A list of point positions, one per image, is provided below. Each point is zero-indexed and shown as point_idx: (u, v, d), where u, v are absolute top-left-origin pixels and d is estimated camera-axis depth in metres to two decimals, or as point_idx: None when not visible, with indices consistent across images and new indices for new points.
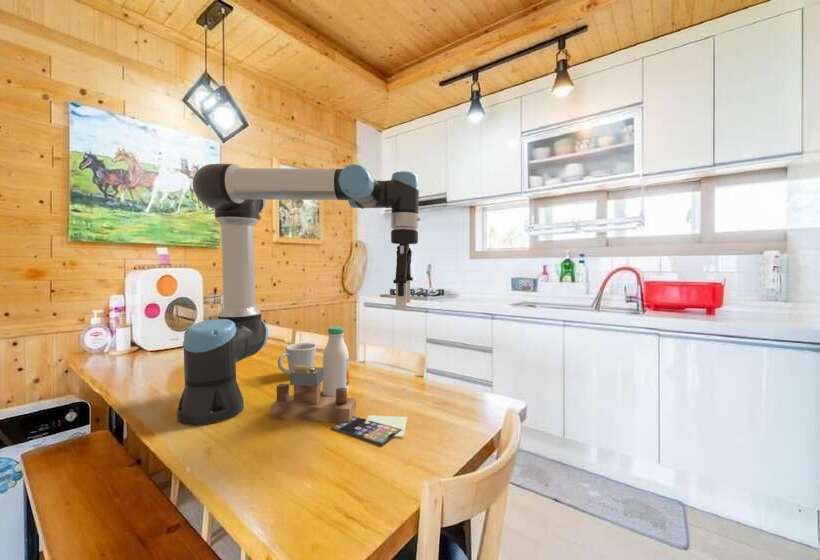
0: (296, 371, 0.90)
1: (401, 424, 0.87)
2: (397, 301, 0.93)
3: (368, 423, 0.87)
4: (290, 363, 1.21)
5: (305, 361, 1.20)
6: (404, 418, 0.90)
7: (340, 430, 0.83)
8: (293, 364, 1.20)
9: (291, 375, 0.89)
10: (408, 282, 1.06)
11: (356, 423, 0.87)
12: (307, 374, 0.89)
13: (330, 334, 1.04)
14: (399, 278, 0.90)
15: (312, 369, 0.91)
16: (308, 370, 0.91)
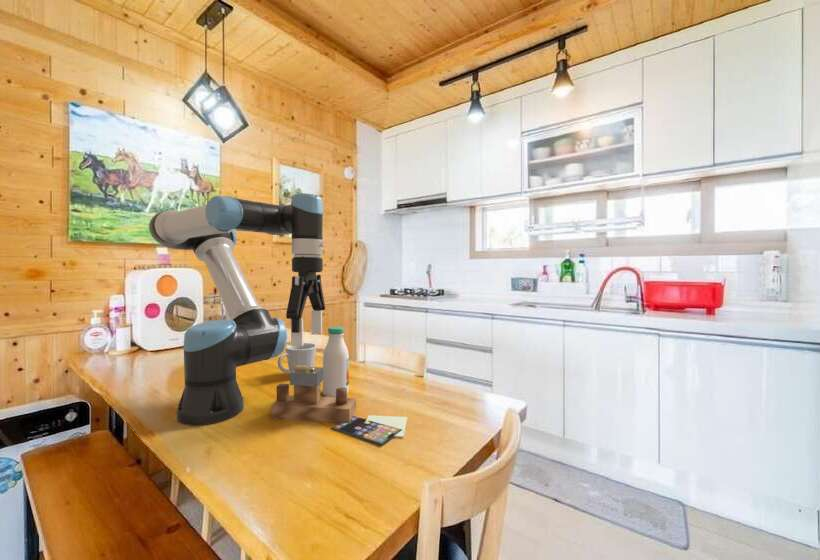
0: (296, 371, 0.90)
1: (401, 424, 0.87)
2: (292, 338, 0.84)
3: (368, 423, 0.87)
4: (290, 363, 1.21)
5: (305, 361, 1.20)
6: (404, 418, 0.90)
7: (340, 430, 0.83)
8: (293, 364, 1.20)
9: (291, 375, 0.89)
10: (319, 312, 0.97)
11: (356, 423, 0.87)
12: (307, 374, 0.89)
13: (330, 334, 1.04)
14: (290, 314, 0.81)
15: (312, 369, 0.91)
16: (308, 370, 0.91)
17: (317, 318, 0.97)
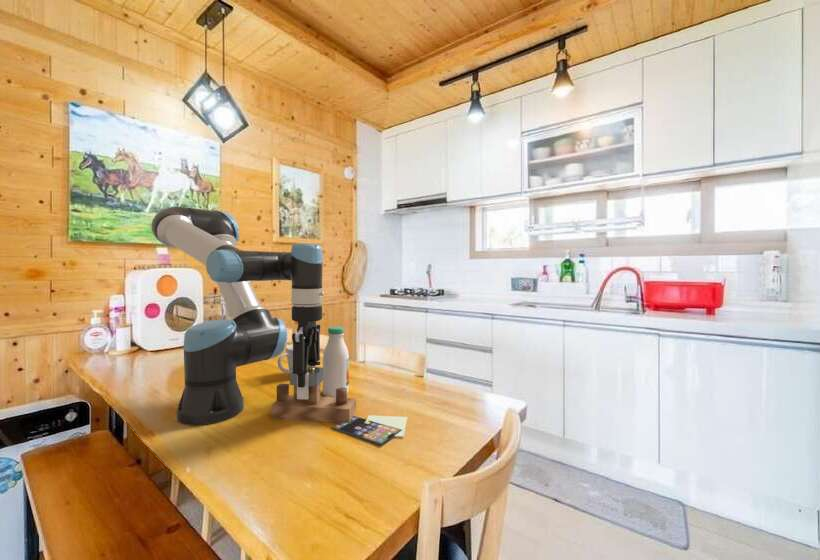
0: None
1: (401, 424, 0.87)
2: (298, 391, 0.88)
3: (368, 423, 0.87)
4: (290, 363, 1.21)
5: None
6: (404, 418, 0.90)
7: (340, 430, 0.83)
8: None
9: (291, 375, 0.89)
10: None
11: (356, 423, 0.87)
12: None
13: (330, 334, 1.04)
14: (296, 371, 0.85)
15: (312, 369, 0.91)
16: (308, 370, 0.91)
17: None
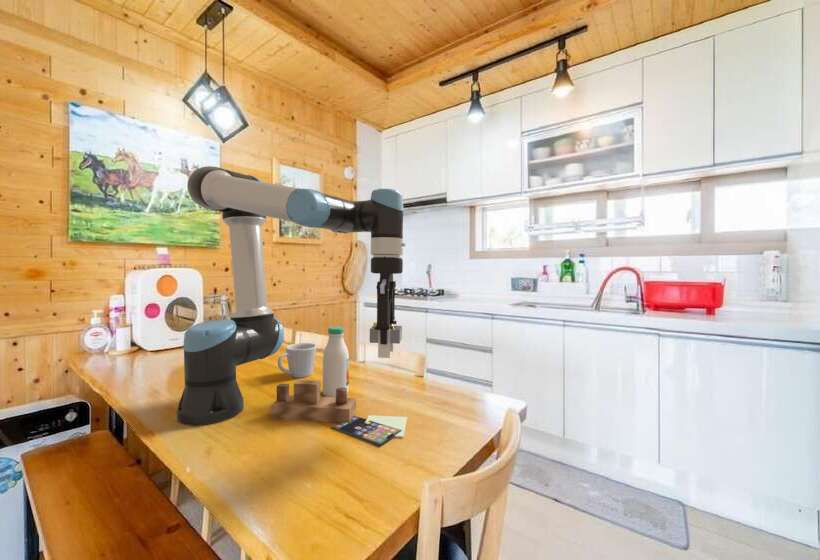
0: None
1: (401, 424, 0.87)
2: (380, 349, 0.82)
3: (369, 423, 0.87)
4: (290, 363, 1.21)
5: (305, 361, 1.20)
6: (404, 418, 0.90)
7: (340, 429, 0.83)
8: (293, 364, 1.20)
9: (371, 332, 0.82)
10: None
11: (357, 423, 0.87)
12: None
13: (330, 334, 1.04)
14: (381, 325, 0.78)
15: (392, 326, 0.84)
16: None
17: None
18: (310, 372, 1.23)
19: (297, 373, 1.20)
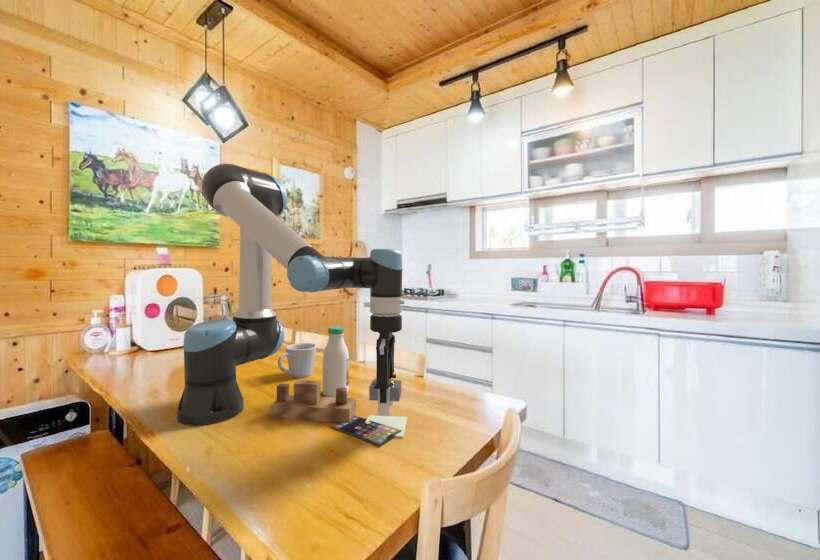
0: (375, 385, 0.84)
1: (401, 424, 0.87)
2: (379, 407, 0.82)
3: (369, 423, 0.87)
4: (290, 363, 1.21)
5: (305, 361, 1.20)
6: (404, 418, 0.90)
7: (340, 429, 0.83)
8: (293, 364, 1.20)
9: (371, 389, 0.83)
10: None
11: (357, 423, 0.87)
12: None
13: (330, 334, 1.04)
14: (380, 386, 0.79)
15: (392, 383, 0.85)
16: None
17: None
18: (310, 372, 1.23)
19: (297, 373, 1.20)
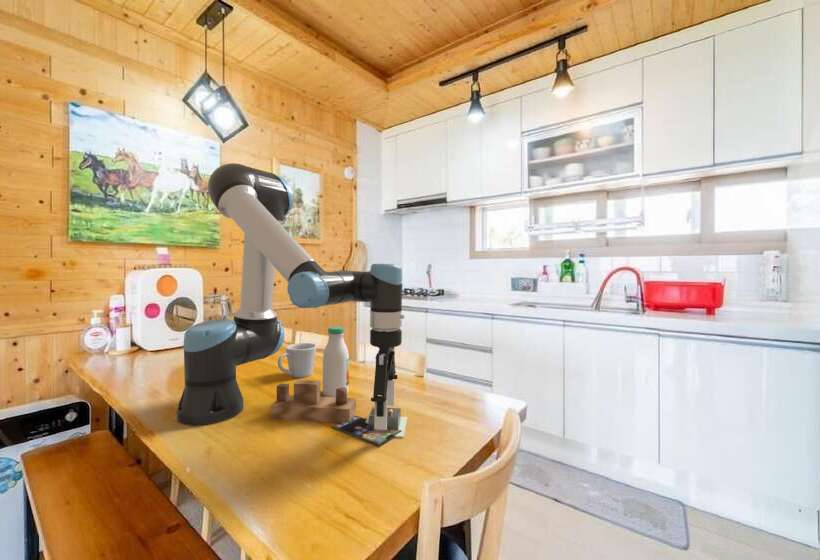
0: None
1: (401, 424, 0.87)
2: (376, 421, 0.79)
3: None
4: (290, 363, 1.21)
5: (305, 361, 1.20)
6: (404, 418, 0.90)
7: (340, 429, 0.84)
8: (293, 364, 1.20)
9: (370, 419, 0.83)
10: (392, 382, 0.92)
11: (357, 423, 0.87)
12: (387, 418, 0.83)
13: (330, 334, 1.04)
14: (377, 399, 0.76)
15: (391, 411, 0.85)
16: None
17: (390, 388, 0.92)
18: (310, 372, 1.23)
19: (297, 373, 1.20)
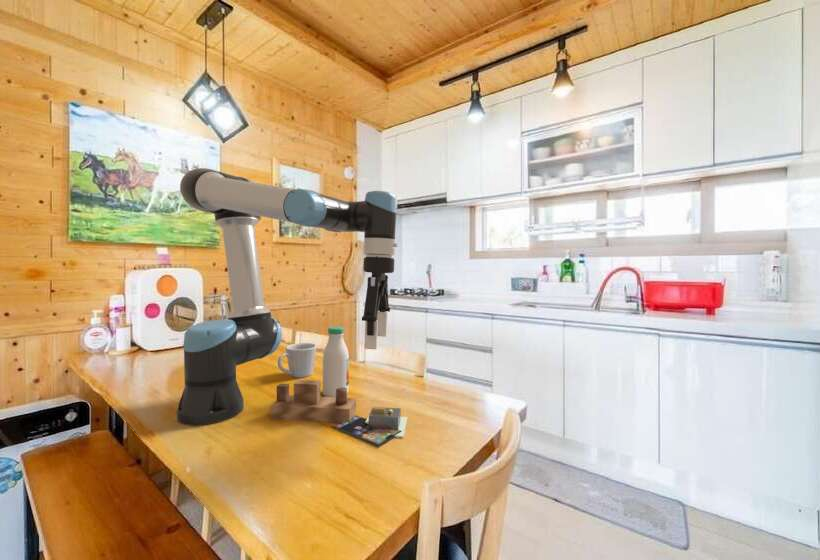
0: (374, 414, 0.84)
1: (401, 424, 0.87)
2: (366, 341, 0.81)
3: None
4: (290, 363, 1.21)
5: (305, 361, 1.20)
6: (404, 418, 0.90)
7: (340, 429, 0.84)
8: (293, 364, 1.20)
9: (370, 419, 0.83)
10: (384, 313, 0.94)
11: (357, 423, 0.87)
12: (387, 418, 0.83)
13: (330, 334, 1.04)
14: (368, 316, 0.78)
15: (391, 411, 0.85)
16: (386, 412, 0.86)
17: (382, 319, 0.94)
18: (310, 372, 1.23)
19: (297, 373, 1.20)
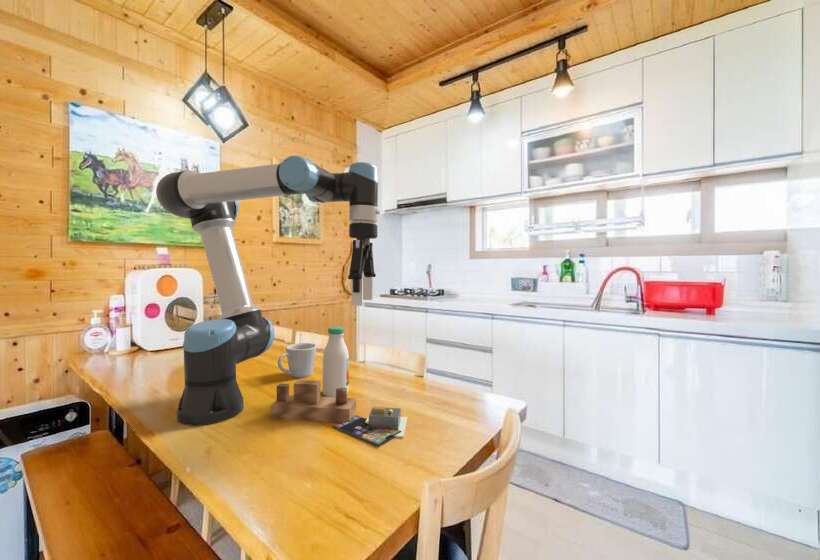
0: (374, 414, 0.84)
1: (401, 424, 0.87)
2: (353, 298, 0.89)
3: None
4: (290, 363, 1.21)
5: (305, 361, 1.20)
6: (404, 418, 0.90)
7: (340, 429, 0.84)
8: (293, 364, 1.20)
9: (370, 419, 0.83)
10: (370, 278, 1.02)
11: (357, 423, 0.87)
12: (387, 418, 0.83)
13: (330, 334, 1.04)
14: (353, 273, 0.86)
15: (391, 411, 0.85)
16: (386, 412, 0.86)
17: (368, 284, 1.02)
18: (310, 372, 1.23)
19: (297, 373, 1.20)
